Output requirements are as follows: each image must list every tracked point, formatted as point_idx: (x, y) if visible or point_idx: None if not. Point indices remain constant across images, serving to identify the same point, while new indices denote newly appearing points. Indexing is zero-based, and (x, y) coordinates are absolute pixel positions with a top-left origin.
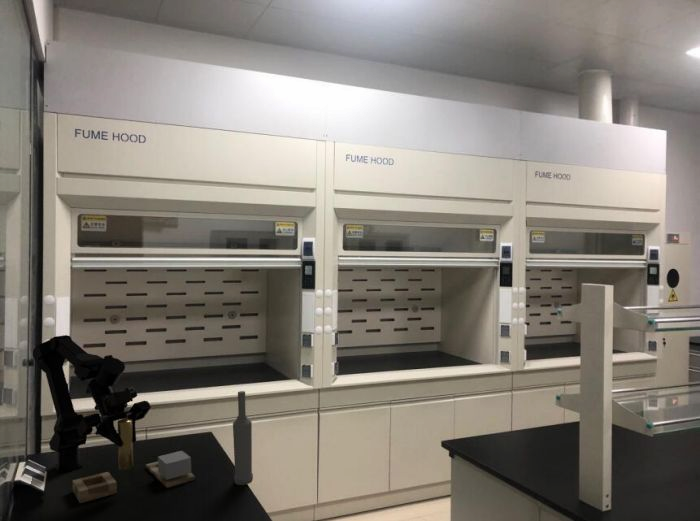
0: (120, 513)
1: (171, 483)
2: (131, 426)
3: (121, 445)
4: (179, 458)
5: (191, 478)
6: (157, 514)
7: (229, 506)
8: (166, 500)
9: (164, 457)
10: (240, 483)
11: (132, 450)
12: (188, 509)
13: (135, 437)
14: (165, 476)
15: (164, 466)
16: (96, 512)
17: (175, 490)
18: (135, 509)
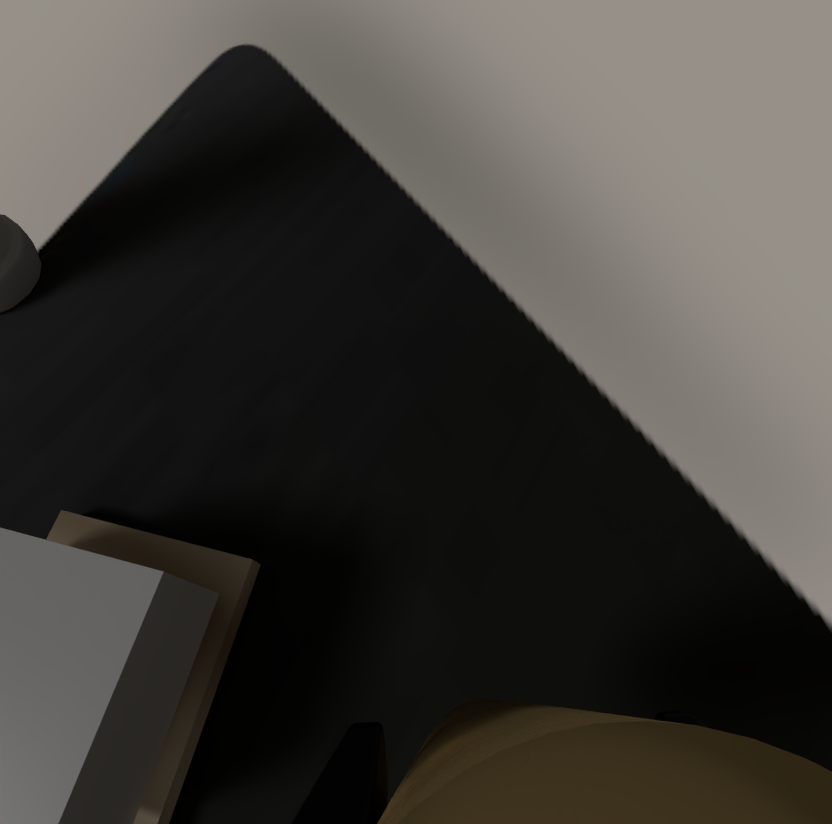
0: (650, 472)
1: (221, 552)
2: (441, 762)
3: (677, 713)
4: (6, 586)
5: (89, 519)
6: (506, 307)
7: (252, 144)
8: (380, 406)
9: (36, 759)
10: (35, 251)
11: (435, 730)
12: (377, 242)
13: (339, 765)
14: (203, 617)
15: (159, 631)
16: (770, 618)
17: (258, 481)
18: (561, 448)
